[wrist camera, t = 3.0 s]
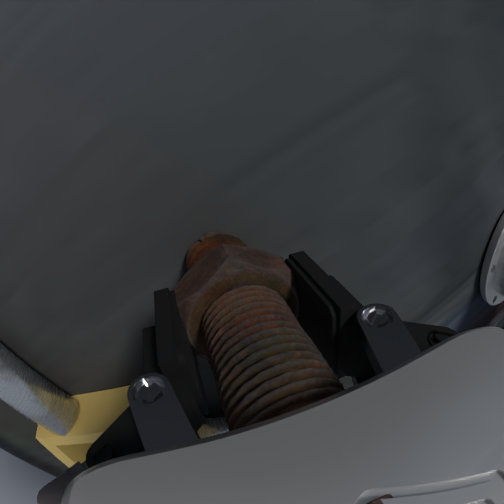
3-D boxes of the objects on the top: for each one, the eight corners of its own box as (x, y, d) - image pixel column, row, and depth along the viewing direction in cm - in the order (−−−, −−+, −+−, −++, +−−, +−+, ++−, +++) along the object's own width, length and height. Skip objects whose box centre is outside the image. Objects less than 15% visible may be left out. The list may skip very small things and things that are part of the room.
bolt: (209, 319, 17) (314, 595, 4) (141, 265, 15) (179, 632, 2) (287, 250, 17) (498, 492, 4) (226, 182, 14) (524, 505, 1)
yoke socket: (161, 378, 18) (166, 421, 15) (200, 445, 22) (209, 479, 19) (43, 399, 16) (35, 438, 13) (102, 461, 21) (103, 493, 18)
